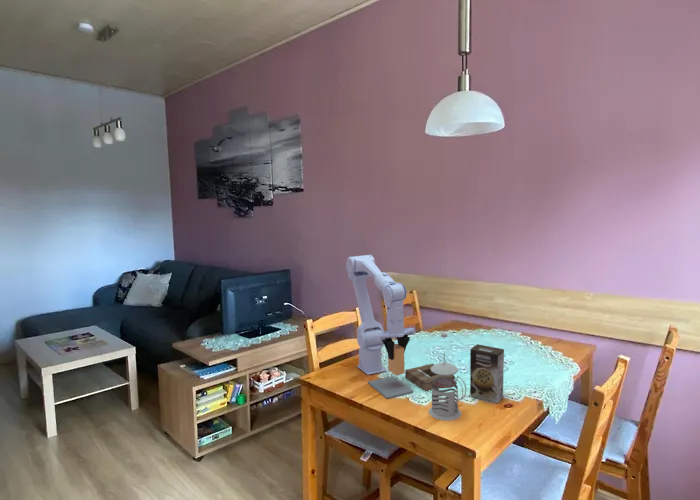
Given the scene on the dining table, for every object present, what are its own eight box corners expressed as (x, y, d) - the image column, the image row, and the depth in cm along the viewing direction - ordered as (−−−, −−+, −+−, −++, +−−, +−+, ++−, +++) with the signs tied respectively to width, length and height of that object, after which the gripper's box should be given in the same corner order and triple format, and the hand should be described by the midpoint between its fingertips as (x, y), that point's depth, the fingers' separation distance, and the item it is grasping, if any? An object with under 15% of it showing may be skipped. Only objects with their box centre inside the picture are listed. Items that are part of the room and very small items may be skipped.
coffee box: (469, 397, 142) (469, 349, 140) (476, 389, 148) (476, 343, 146) (497, 404, 137) (497, 354, 135) (504, 396, 142) (504, 348, 140)
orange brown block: (388, 370, 153) (387, 345, 152) (397, 368, 155) (396, 343, 154) (395, 375, 149) (395, 349, 148) (404, 373, 150) (404, 347, 149)
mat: (367, 383, 156) (367, 381, 156) (392, 377, 160) (392, 375, 160) (387, 399, 143) (387, 397, 143) (413, 392, 147) (413, 390, 147)
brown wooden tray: (405, 377, 159) (405, 368, 159) (433, 371, 164) (432, 362, 164) (425, 391, 147) (425, 381, 147) (454, 384, 152) (454, 374, 152)
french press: (439, 401, 140) (438, 325, 137) (473, 413, 132) (472, 332, 129) (422, 413, 133) (420, 333, 130) (456, 426, 125) (455, 341, 122)
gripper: (382, 325, 143) (383, 365, 144) (419, 318, 149) (420, 357, 150) (372, 320, 149) (373, 358, 151) (408, 314, 155) (409, 351, 157)
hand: (396, 357), depth 151 cm, fingers closed on orange brown block, 3 cm apart
